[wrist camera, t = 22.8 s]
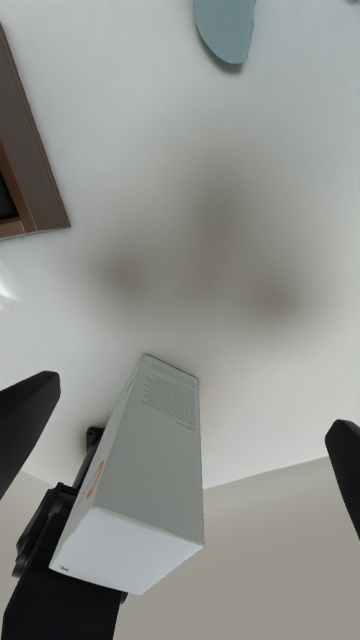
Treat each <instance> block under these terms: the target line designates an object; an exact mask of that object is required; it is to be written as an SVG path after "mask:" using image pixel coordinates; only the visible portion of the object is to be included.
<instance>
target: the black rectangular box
mask: <svg viewBox="0 0 360 640" xmlns="http://www.w3.org/2000/svg"><path fill="white" fill-rule="evenodd" d="M16 217H20V216H19V213H18V211H17V209H16V206H15V204H14V202H13V199H12V197H11V195H10V192H9V190H8V187H7V185H6V183H5V180H4V178H3V176H2V173H1V171H0V220H4V219H10V218H16Z"/></svg>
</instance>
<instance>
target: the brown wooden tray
mask: <svg viewBox="0 0 360 640" xmlns="http://www.w3.org/2000/svg"><path fill="white" fill-rule="evenodd" d="M0 171H1V173H2V176H3V178H4V180H5V183H6V185H7V187H8V190H9V192H10V195H11V197H12V199H13V202H14V204H15V206H16V209H17V211H18V213H19V216H20V217H16V218H10V219H4V220H0V241H3V240H8V239H13V238H18V237H24V236H29V235H34V234H39V233H44V232H49V231H54V230H59V229H64V228H69V227H70V224H69V221H68V218H67V215H66V212H65V210H64V207H63V204H62V201H61V198H60V195H59V192H58V189H57V186H56V183H55V180H54V178H53V175H52V172H51V169H50V166H49V163H48V160H47V157H46V154H45V151H44V149H43V146H42V143H41V140H40V137H39V134H38V131H37V128H36V125H35V122H34V119H33V117H32V114H31V111H30V108H29V105H28V102H27V99H26V96H25V93H24V90H23V88H22V85H21V82H20V79H19V76H18V73H17V70H16V67H15V64H14V61H13V59H12V56H11V53H10V50H9V47H8V44H7V41H6V38H5V35H4V32H3V29H2V27H1V24H0Z"/></svg>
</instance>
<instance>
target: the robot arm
mask: <svg viewBox="0 0 360 640" xmlns="http://www.w3.org/2000/svg"><path fill="white" fill-rule="evenodd" d="M60 394H61V390H60V378H59V374H58V373H57V372H53V371H42V372H40V373H38V374H36V375H33V376H31V377H29V378H27V379H25V380H23V381H21V382H19V383H16V384H14V385H12V386H10V387H8V388H6V389H4V390H1V391H0V500H1V499H2V497H3V496H4V494H5V492H6V491H7V489H8V488H9V486H10V484H11V483H12V481H13V480H14V478H15V477H16V475H17V474H18V472H19V471H20V469H21V467H22V466H23V464H24V463H25V461H26V460H27V458H28V456H29V455H30V453H31V452H32V450H33V448H34V447H35V445H36V443H37V441H38V439H39V437H40V435H41V433H42V432H43V430H44V428H45V426H46V424H47V422H48V420H49V418H50V416H51V414H52V412H53V410H54V408H55V406H56V404H57V402H58V400H59V398H60ZM104 431H105V430H104V429H98V428H88V430H87V432H86V438H87V454H86V457H85V459H84V461H83V463H82V466H81V468H80V470H79V472H78V474H77V477H76V479H75V481H74V483H73V486H72V487H70V486H67V485H64V483H61V482H58V484H57V486H56V487H55V488H54V489H48V490H47V492H46V494H45V496H44V498H43V500H42V502H41V503H40V505H39V507H38V509H37V511H36V512H35V514H34V516H33V517H32V519H31V520H30V522H29V524H28V525H27V527H26V528H25V530H24V532H23V533H22V535H21V536H20V538H19V540H18V542H17V544H16V548H17V553H18V556H17V558H16V561H15V562H16V565H15V568H14V570H13V572H12V575H11V576H13V577H16V578H20V579H19V581H18V584H17V586H16V588H15V590H14V592H13V594H12V597H11V599H10V601H9V603H8V605H7V607H6V609H5V612H4V616H3V625H2V635H1V640H113V635H114V629H115V624H116V619H117V615H118V610H119V606H120V604H123V603H124V601H125V599H126V597H127V595H128V592H125V591H121V590H117V589H113V588H109V587H105V586H102V585H98V584H95V583H91V582H88V581H85V580H81V579H78V578H75V577H72V576H68V575H65V574H63V573H60V572H57V571H55V570H52V569H51V568H49V565H50V562H51V560H52V557H53V555H54V552H55V550H56V547H57V545H58V542H59V540H60V537H61V535H62V533H63V530H64V528H65V525H66V523H67V521H68V518H69V516H70V513H71V511H72V508H73V506H74V503H75V501H76V499H77V496H78V494H79V491H80V489H81V486H82V484H83V482H84V479H85V477H86V474H87V472H88V470H89V467H90V465H91V463H92V460H93V458H94V455H95V453H96V451H97V448H98V446H99V443H100V441H101V439H102V436H103V434H104ZM325 444H326V448H327V451H328V454H329V457H330V460H331V464H332V467H333V470H334V473H335V476H336V479H337V483H338V486H339V489H340V491H341V495H342V498H343V500H344V503H345V505H346V508H347V510H348V513H349V515H350V518H351V520H352V522H353V525H354V528H355V530H356V532H357V535H358V537H359V540H360V427H359V426H357V425H356V424H355V423H353V422H351V421H347V420H341V419H337V420H336V421H335V422H334V423H333V425H332V426H331V428H330V429H329V431H328V432H327V434H326V436H325Z"/></svg>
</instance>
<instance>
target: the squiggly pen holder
mask: <svg viewBox="0 0 360 640" xmlns="http://www.w3.org/2000/svg"><path fill="white" fill-rule="evenodd" d="M255 2H256V0H194V13H195V20H196V23H197V27H198V30H199V32H200V35H201V37H202V38H203V40H204V41H205V43H206V44H207V45H208V46H209V48H210V49H211V50H212V51H213V52H214V53H215V54H216V55H217V56H218V57H219V58H221V59H222V60H224V61H225V62H227V63H242V62H244V61H245V60H246V58H247V55H248V50H249V45H250V40H251V36H252V31H253V8H254V5H255Z"/></svg>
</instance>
